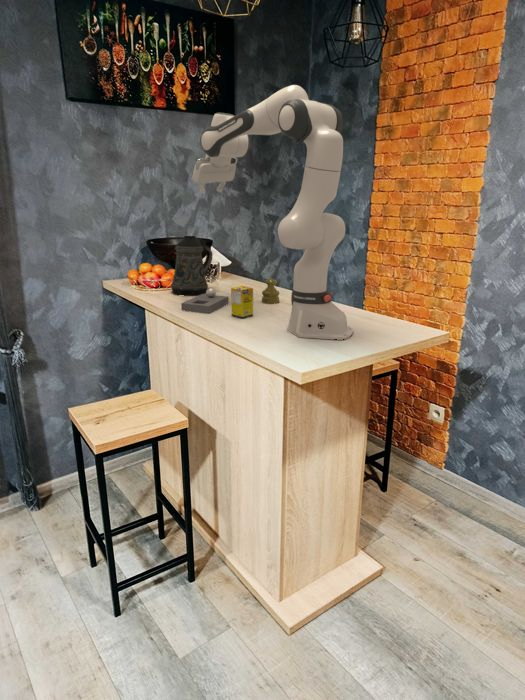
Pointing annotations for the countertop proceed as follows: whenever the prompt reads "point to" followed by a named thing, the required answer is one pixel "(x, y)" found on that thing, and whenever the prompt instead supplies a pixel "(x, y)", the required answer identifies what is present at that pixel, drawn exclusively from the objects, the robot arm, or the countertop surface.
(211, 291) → the steel ball
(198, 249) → the beer stein
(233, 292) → the supplement box
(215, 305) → the hole board
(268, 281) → the olive tiered figure
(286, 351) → the countertop surface
